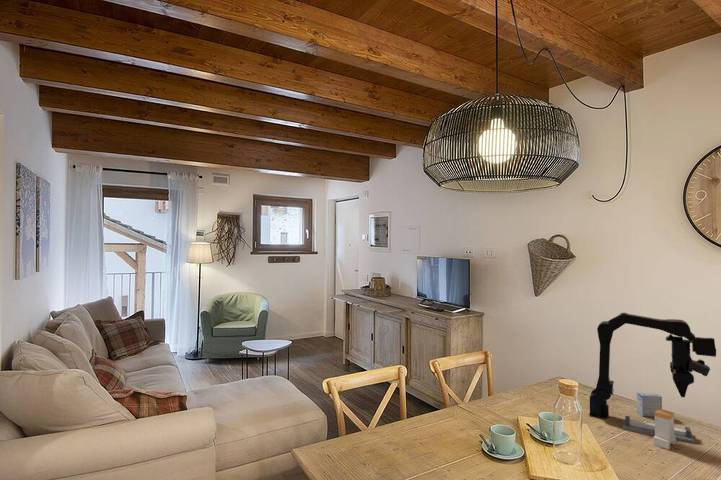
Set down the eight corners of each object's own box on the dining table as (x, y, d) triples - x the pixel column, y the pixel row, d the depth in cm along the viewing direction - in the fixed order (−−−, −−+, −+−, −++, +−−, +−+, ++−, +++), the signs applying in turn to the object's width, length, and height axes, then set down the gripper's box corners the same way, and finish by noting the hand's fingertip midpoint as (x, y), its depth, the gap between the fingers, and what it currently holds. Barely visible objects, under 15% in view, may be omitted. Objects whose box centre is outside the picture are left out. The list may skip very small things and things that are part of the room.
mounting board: (622, 429, 162) (622, 420, 163) (623, 421, 169) (623, 413, 169) (694, 443, 150) (694, 434, 150) (692, 435, 157) (691, 426, 157)
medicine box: (656, 412, 178) (655, 392, 178) (662, 417, 173) (662, 396, 173) (636, 412, 178) (636, 392, 178) (642, 416, 174) (642, 396, 174)
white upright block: (653, 444, 150) (652, 412, 150) (661, 438, 154) (660, 407, 154) (668, 449, 146) (667, 417, 146) (675, 443, 151) (675, 411, 151)
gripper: (711, 362, 148) (712, 405, 148) (704, 350, 163) (705, 389, 163) (672, 357, 154) (673, 399, 154) (669, 346, 170) (670, 384, 170)
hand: (681, 393), depth 160 cm, fingers open, 9 cm apart
